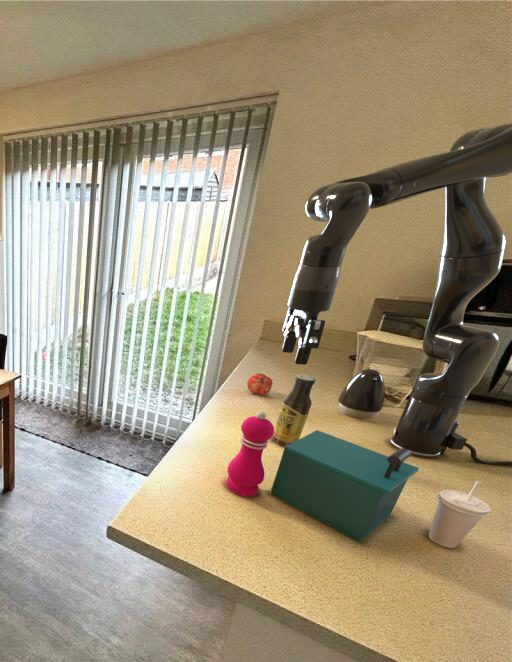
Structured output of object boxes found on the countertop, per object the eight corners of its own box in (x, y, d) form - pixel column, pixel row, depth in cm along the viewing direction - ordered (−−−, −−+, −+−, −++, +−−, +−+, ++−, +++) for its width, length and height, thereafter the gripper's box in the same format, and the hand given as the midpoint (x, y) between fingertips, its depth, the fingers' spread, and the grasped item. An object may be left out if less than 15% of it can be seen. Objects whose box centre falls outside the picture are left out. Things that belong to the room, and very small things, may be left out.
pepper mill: (255, 481, 93) (276, 406, 85) (262, 501, 87) (287, 422, 79) (221, 476, 95) (239, 402, 87) (226, 494, 89) (246, 417, 81)
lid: (417, 471, 76) (429, 447, 74) (388, 495, 70) (400, 469, 68) (315, 432, 90) (323, 411, 88) (283, 449, 84) (290, 427, 82)
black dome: (341, 419, 119) (358, 373, 113) (329, 405, 128) (344, 362, 122) (383, 425, 115) (403, 378, 109) (368, 410, 124) (386, 365, 118)
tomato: (242, 393, 143) (243, 385, 135) (251, 375, 143) (252, 366, 135) (265, 401, 139) (268, 393, 130) (274, 382, 139) (277, 373, 131)
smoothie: (477, 555, 72) (515, 494, 66) (435, 550, 73) (469, 490, 68) (448, 530, 78) (480, 472, 72) (410, 526, 79) (439, 468, 73)
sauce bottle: (264, 437, 111) (283, 372, 103) (285, 435, 111) (305, 371, 104) (281, 449, 105) (303, 381, 97) (303, 448, 105) (326, 380, 98)
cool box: (389, 516, 81) (412, 469, 77) (360, 542, 75) (382, 492, 71) (301, 475, 95) (315, 433, 90) (270, 494, 89) (283, 449, 84)
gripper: (350, 293, 77) (325, 370, 83) (320, 282, 89) (300, 349, 95) (305, 292, 79) (284, 367, 85) (282, 281, 91) (265, 347, 98)
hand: (293, 357), depth 90 cm, fingers open, 8 cm apart
